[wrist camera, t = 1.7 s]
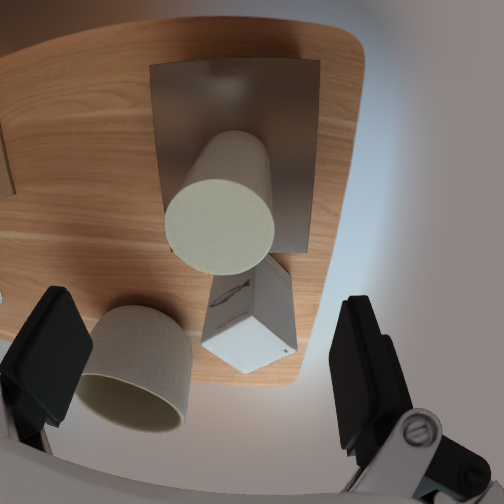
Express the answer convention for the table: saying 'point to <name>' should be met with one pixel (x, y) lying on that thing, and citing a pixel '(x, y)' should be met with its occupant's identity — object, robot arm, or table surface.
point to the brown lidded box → (243, 127)
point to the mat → (5, 172)
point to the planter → (138, 371)
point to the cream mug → (224, 207)
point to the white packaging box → (251, 317)
